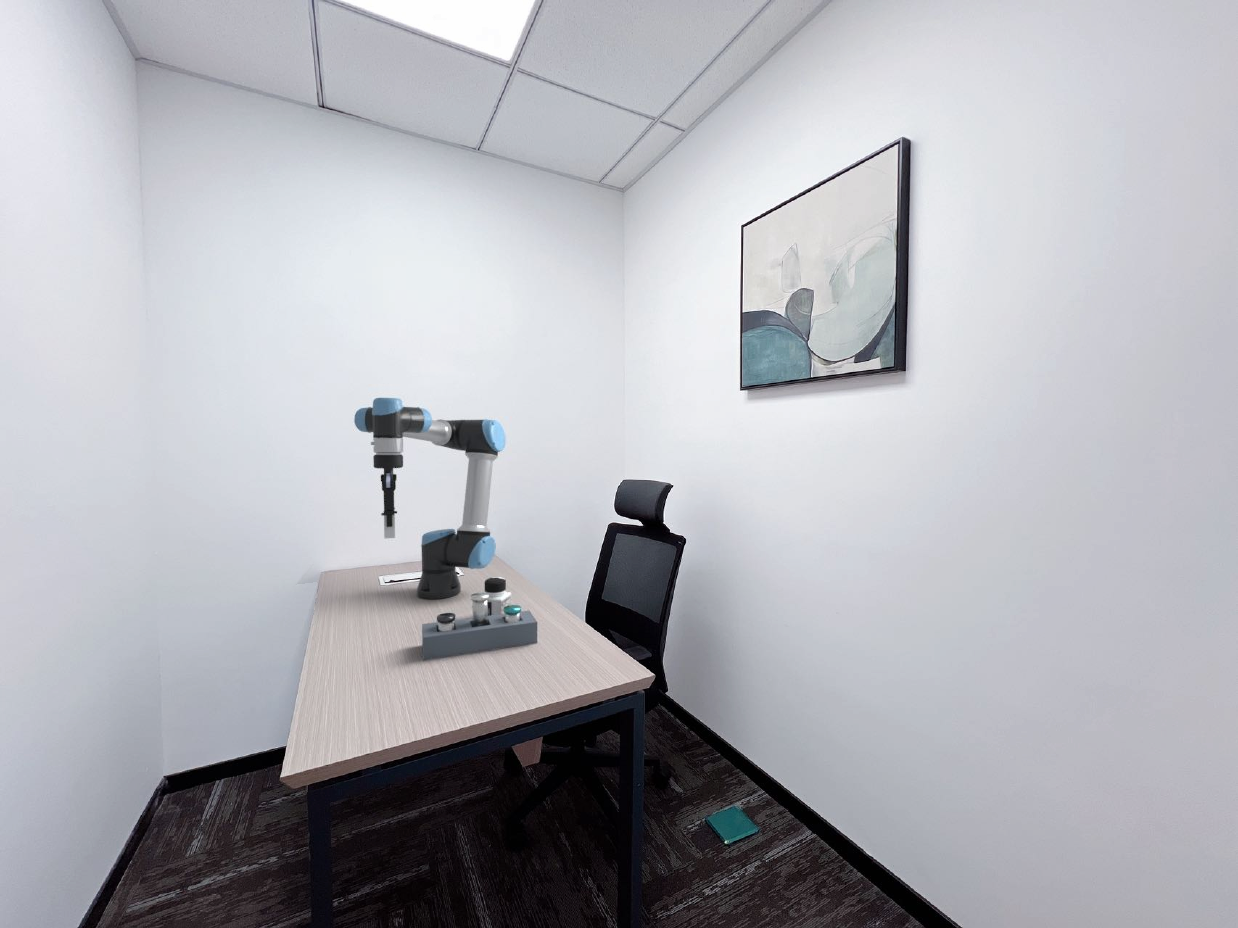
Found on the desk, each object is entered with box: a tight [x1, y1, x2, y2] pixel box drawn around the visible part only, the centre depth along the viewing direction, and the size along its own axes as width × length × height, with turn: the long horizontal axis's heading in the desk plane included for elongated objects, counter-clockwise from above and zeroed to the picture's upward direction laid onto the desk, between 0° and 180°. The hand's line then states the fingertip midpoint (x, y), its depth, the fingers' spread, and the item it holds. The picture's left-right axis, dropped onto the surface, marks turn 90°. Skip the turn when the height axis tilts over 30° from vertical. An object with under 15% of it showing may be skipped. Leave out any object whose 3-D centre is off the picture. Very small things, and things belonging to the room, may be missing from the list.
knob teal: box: [504, 604, 522, 623], centre depth 145 cm, size 5×5×8 cm
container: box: [484, 576, 512, 616], centre depth 160 cm, size 8×8×13 cm
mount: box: [421, 610, 538, 661], centre depth 141 cm, size 10×30×6 cm, turn 113°
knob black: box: [436, 612, 456, 632], centre depth 138 cm, size 5×5×8 cm
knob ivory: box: [470, 592, 489, 627], centre depth 141 cm, size 5×5×8 cm
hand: (389, 537), depth 142 cm, fingers closed
